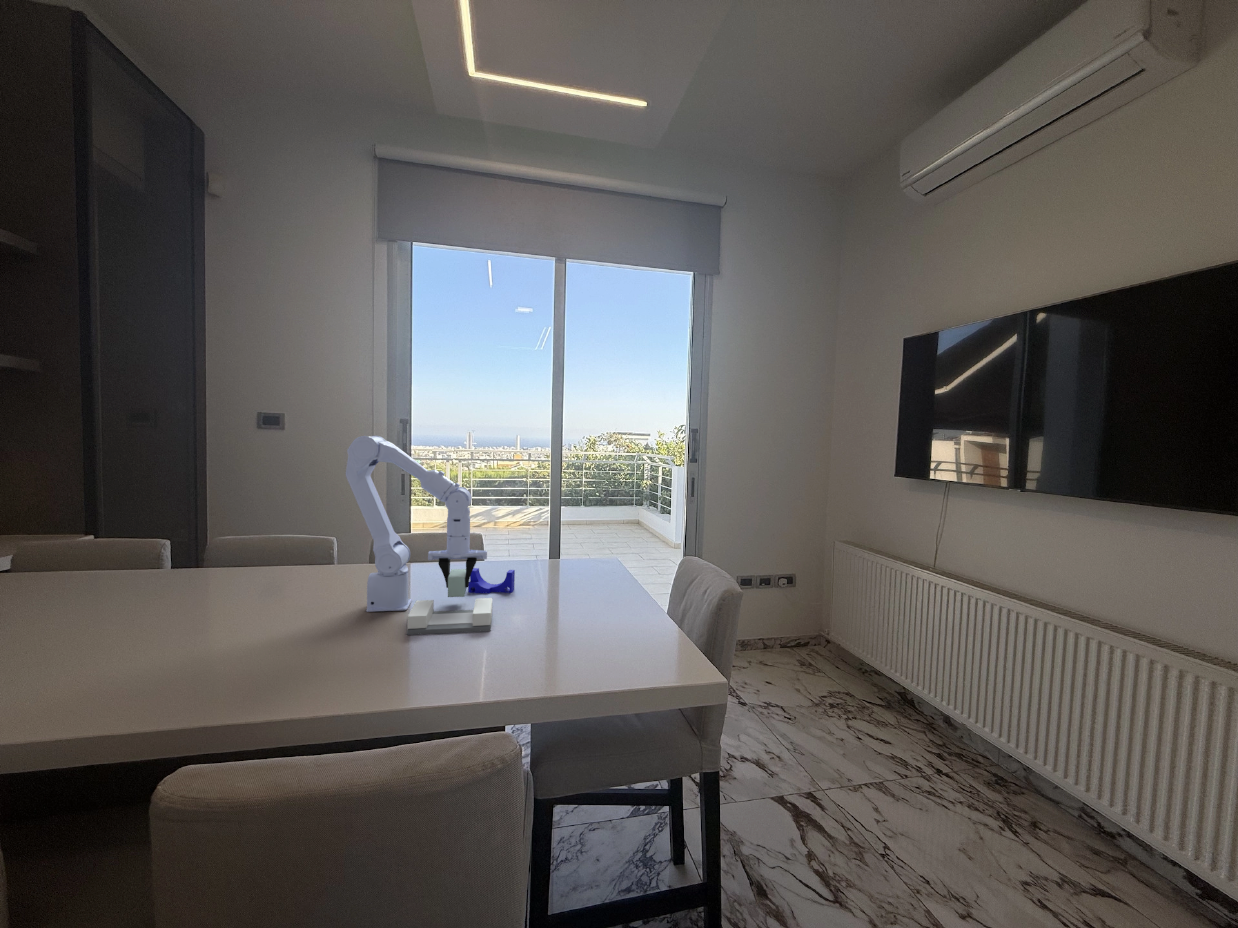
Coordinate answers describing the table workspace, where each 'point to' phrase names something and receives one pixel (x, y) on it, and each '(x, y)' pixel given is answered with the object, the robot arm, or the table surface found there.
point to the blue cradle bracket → (483, 587)
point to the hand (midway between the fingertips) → (457, 586)
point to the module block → (457, 583)
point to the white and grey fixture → (449, 618)
